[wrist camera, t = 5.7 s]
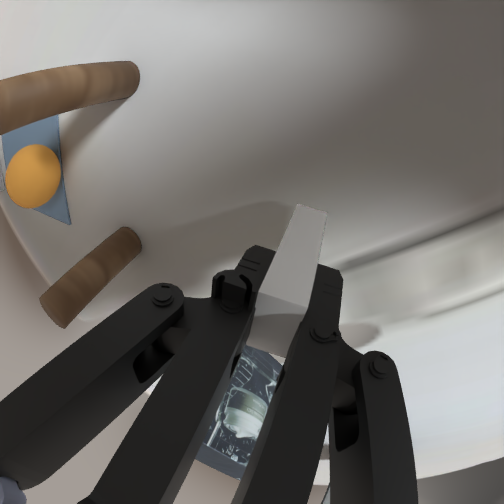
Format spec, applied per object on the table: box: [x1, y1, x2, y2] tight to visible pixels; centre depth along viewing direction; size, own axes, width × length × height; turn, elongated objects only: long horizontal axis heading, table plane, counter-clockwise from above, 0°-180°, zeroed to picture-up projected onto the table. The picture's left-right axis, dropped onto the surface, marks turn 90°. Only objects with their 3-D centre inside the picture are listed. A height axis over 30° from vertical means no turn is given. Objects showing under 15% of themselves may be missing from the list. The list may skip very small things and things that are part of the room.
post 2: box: [40, 227, 141, 329], centre depth 18 cm, size 3×3×9 cm
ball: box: [5, 144, 61, 208], centre depth 17 cm, size 6×6×6 cm
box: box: [195, 344, 283, 480], centre depth 21 cm, size 11×7×10 cm, turn 42°
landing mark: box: [2, 115, 71, 225], centre depth 20 cm, size 14×14×1 cm
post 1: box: [0, 61, 140, 135], centre depth 10 cm, size 3×3×9 cm
